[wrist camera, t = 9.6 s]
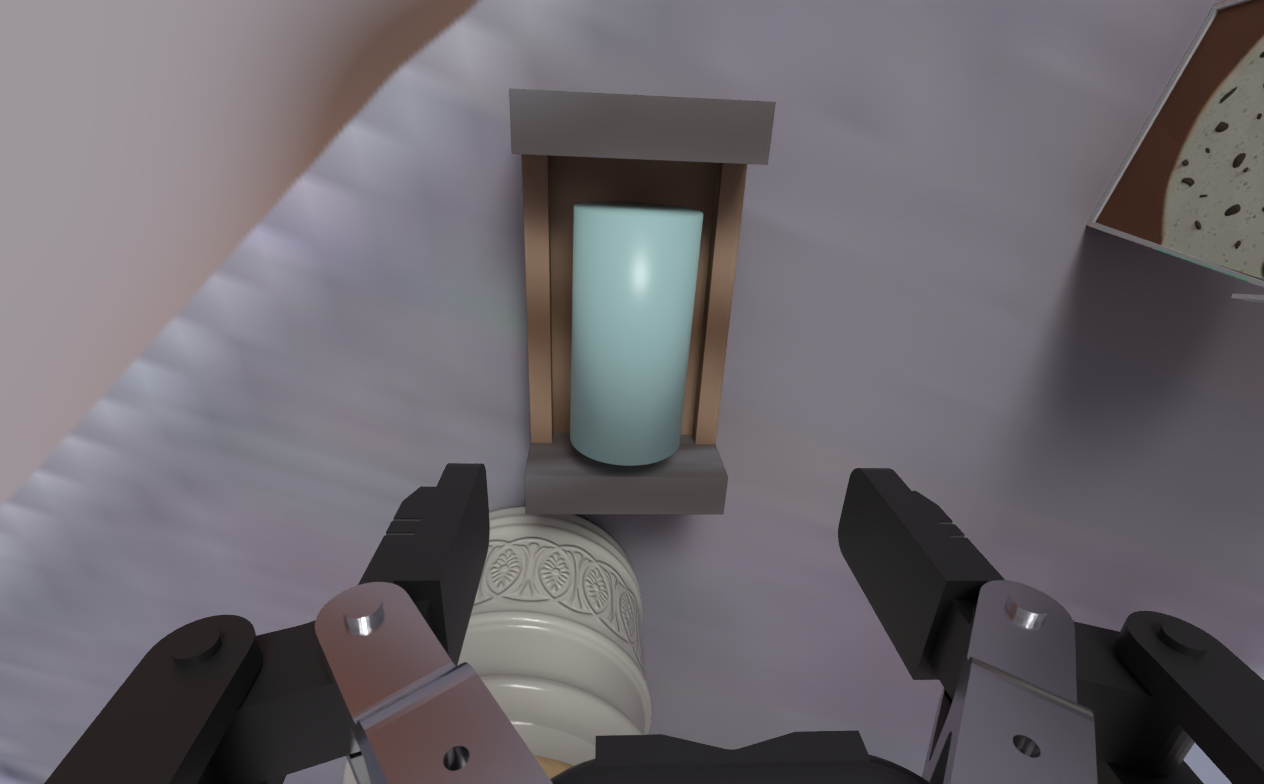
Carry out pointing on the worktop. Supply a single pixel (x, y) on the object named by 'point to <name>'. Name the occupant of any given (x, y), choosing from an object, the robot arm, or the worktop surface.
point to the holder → (552, 184)
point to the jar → (558, 636)
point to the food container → (1202, 155)
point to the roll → (631, 328)
